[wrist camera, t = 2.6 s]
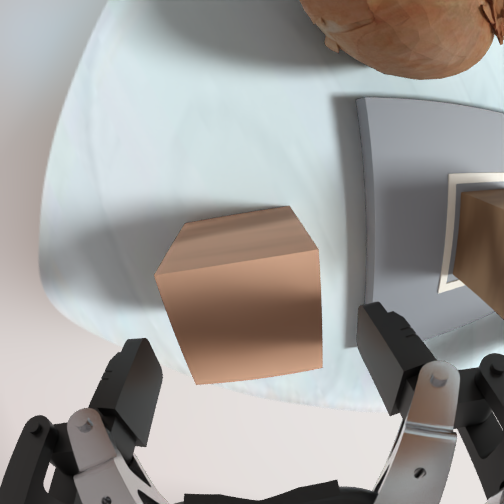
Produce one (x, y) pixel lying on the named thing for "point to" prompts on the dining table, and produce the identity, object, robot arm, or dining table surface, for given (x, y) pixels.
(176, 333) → the terracotta block
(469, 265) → the walnut block
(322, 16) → the onion
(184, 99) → the dining table surface
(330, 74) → the dining table surface
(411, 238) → the grey flat plate
